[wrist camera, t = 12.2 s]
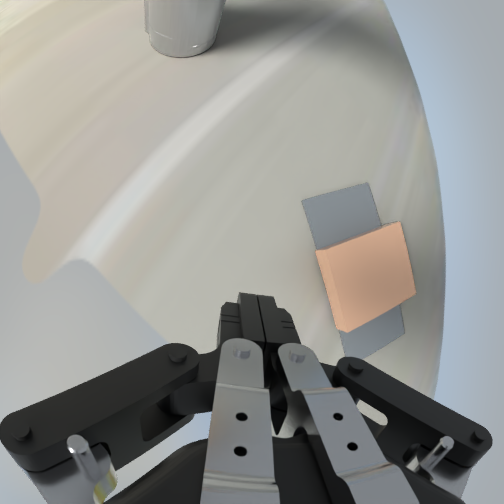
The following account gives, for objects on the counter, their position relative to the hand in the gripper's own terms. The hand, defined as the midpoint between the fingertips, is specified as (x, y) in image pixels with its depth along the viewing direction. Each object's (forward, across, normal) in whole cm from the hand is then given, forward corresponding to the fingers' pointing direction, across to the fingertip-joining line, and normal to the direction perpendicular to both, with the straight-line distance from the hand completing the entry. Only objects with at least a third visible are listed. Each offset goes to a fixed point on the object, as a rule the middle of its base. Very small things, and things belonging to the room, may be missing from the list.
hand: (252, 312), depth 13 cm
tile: (+18, +12, -6) cm, 22 cm away
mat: (+21, +16, -5) cm, 27 cm away
